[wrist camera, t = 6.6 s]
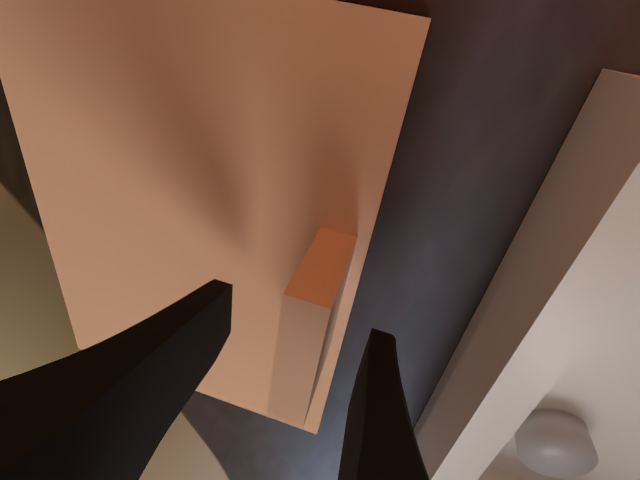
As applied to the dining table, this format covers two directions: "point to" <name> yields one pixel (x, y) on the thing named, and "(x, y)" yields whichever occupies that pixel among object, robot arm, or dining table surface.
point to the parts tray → (556, 323)
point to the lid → (213, 168)
